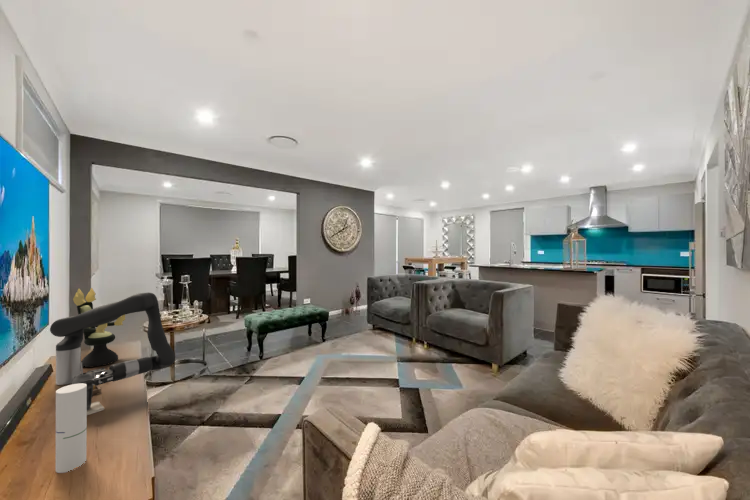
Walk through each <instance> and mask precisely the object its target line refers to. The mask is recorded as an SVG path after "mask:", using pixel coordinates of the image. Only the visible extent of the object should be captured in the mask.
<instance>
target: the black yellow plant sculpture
mask: <svg viewBox="0 0 750 500" xmlns="http://www.w3.org/2000/svg"><path fill="white" fill-rule="evenodd" d="M96 300H97V298H96V292H95V291H94V289H93V287H91V288H90V290H89V291H88V293H87V294H86V296H85V294H84V292H83V291H82V290H81V289H80V288H78V289H77V292H75V294H74V296H73V299H72V301H73V304H75V305H76V310H77V315H79V314H81V313H84V312H86V311H89V310H91V309H94V305H93V302H95V301H96ZM124 321H126V314H125V315H122V316H120V317H119V318H118V319H116V320H114V321H112V322H109V323H106V324H102V325H98V326H94V327H89V328H84V331H83V342H84V345H86V346H92V347H93V348H92V350H91V351H90V352H89V353H88V354H86V355H85V356H84V357H83V358H82V359H81V363H82V367H84V366H85V367H84V368H93V367H92V366H97V367H101V366H100V365H102V366H106V365H109V364H108V363H110V364H112V363H114V362H115V360H116V361H117V360H118V359H119V355H118V354H117V353H116V352H115V351H113V350H112V349H111V348H110V349H109V348H108V346H107V344H109V343H112V342H114V341H115V339H116V335H115V334H114V333H112V332H111V331H106V329H107V328H108V327H113V326H117V327H118V326H123V325H124V324H123V322H124ZM111 362H112V363H111ZM105 364H106V365H105Z"/></svg>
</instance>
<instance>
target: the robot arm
mask: <svg viewBox="0 0 750 500" xmlns="http://www.w3.org/2000/svg"><path fill="white" fill-rule="evenodd" d="M140 312H145V313H146V315H147V317H148V318H147V319H148V320H147V321H148V322H147V323H148V325H147V339H148V341H149V345H150V347H151V348H150V349H152V350H153V351H154V352H155V354H156V355H152V356H150V357H149V356H146V357H141V358H137V359H132V360H131V359H130V360H126V361H121V362H117V363H113V364H112V363H111V365H110V366H109V369H105V367H101V368H98V369H92V370H88V371H86V373H90V374H92V375H93V376H94V378H93V379H92V380H91V379H89V380H85V381H81V382H79V383H84V384H87V386H88V385H91V384H92V385H95V386H97V385H98V386H100V385H103V384H108V383H110V382H111V383H113V382H117V381H121V380H125V379H129V378H131V377H135V376H137V375H142V374H145V373H147V372H150V371H156V370H160V369H165V368H166V367H169V366H171V365H173V364H174V363H175V361H176V354H175V351H174V349H173V348H172V347H171V345H170V344H169V342H168V338H167V336H166V333H165V331H164V328H163V323H162V318H161V312H160V305H159V301H158V297H157V295H155V294H154V293H152V292H142V293H141V292H138V293H136V294H133V295H130V296H127V297H126V298H124V299H122V300H118V301H115V302H111V303H107V304H103V305H100V306H97V307H93V309H91V310H89V311H86V312H84V313H81V314H79V315H78V314H77V315H76V314H75V315H72V316H71V315H70V316H68V317H62V318H59V319H56V320H55V321H54V322H53V323H52V324H51V325H50V329H49V332H50V333H51V335H52V336H54V337H58V338H62V337H63V339H62V340H60V341H59V342H57V344H56V345H55V385H57V386H64V385H65V386H66V385H71V384H72V382H73V380H74V378H75V377H76V376H77V375H79V374H81V361H82V352H81V351H82V342H83V341H84V333H83V331H84V328H89V327H94V326H98V325H102V324H106V323H109V322H115V321H116V320H117V319H118V318H119V317H120V316H121V317H122V315H125V316H126V315H128V314H129V315H130V314H133V313H140Z"/></svg>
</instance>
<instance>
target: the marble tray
mask: <svg viewBox="0 0 750 500" xmlns="http://www.w3.org/2000/svg"><path fill="white" fill-rule="evenodd" d="M99 394H102V388H101V387H100V385H97V386H95V385H94V386H93V393H92V397H93V396H95V395H99Z"/></svg>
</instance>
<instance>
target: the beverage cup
mask: <svg viewBox="0 0 750 500" xmlns="http://www.w3.org/2000/svg"><path fill="white" fill-rule="evenodd" d="M83 368H84V366H82V363H81V374H79V375H77V376H76V377H75V378H74V380H73V382H72V383H71V385H72V384H79V382H81V381H85V380H89V379H91V380H92V379H93V378H94V376H93V375H92V374H90V373H87V372H84V370H83ZM93 386H94V385H92V384H91V385H88V386H87V411H88V410H89V409H90V408H91V403H93V402H92V400H93V396H92V393H93Z"/></svg>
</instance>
